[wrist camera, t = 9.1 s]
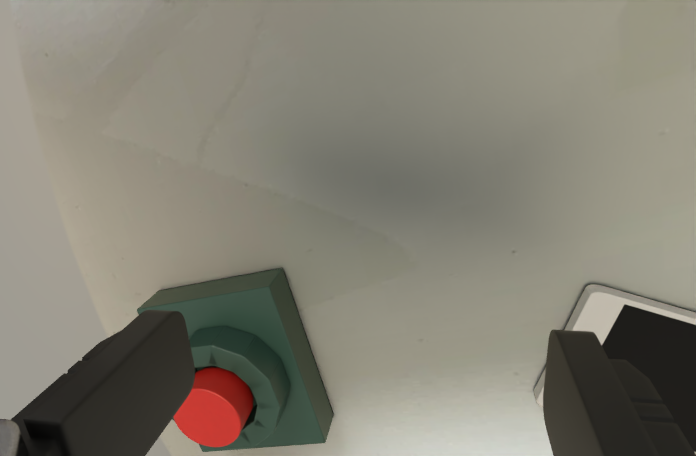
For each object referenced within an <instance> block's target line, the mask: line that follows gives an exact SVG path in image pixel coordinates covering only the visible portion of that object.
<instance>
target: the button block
mask: <svg viewBox="0 0 696 456" xmlns="http://www.w3.org/2000/svg"><path fill="white" fill-rule="evenodd" d="M146 310H165V311H179V312H180V313H182V315H183V316H184V319H185V322H186V327H187V332H188V337H189V341H190V346H191V351H192V356H193V360H194V365H195V373H196V372H197V371H199V370H201V369H204V368H208V367H219V368H223V369H226V370H228V371H231V372H233V373H235V374H236V375H237V376H238V377H239V378H241V379H242V380H243V381H244V382H245V383H246V384H247V385H248V387H249V388H250V390H251V392H252V395H253V409H252V411H251V413H250V415H249V417H248V419H247V421H246V423H245V425H244V427H243V429H242V430H241V432H240V434H239V436H238V438H237V439H236V440H235V441H234V442H232V443H231V444H229V445H227V446H223V447H209V446H204V445H201V444H199V445H200V447H201V449H202V451H203V452H208V451H222V450H235V449H249V448H263V447H276V446H290V445H304V444H317V443H325V442H326V439H327V435H328V432H329V429H330V425H331V422H332V419H333V413H332V410H331V407H330V404H329V401H328V398H327V395H326V392H325V390H324V387H323V384H322V381H321V378H320V375H319V372H318V369H317V366H316V364H315V361H314V358H313V355H312V352H311V349H310V346H309V343H308V341H307V338H306V335H305V332H304V329H303V326H302V323H301V320H300V317H299V315H298V312H297V309H296V306H295V303H294V300H293V297H292V294H291V291H290V289H289V286H288V283H287V280H286V277H285V274H284V271H283V269H282V268H281V269H275V270H270V271H264V272H259V273H253V274H248V275H243V276H237V277H232V278H226V279H221V280H215V281H210V282H204V283H199V284H193V285H188V286H183V287H177V288H172V289H166V290H161V291H158V292H157V293H156V294H154V295H153V296H152V297H151V298H150V299H149V300H147V301H146V302H145V303H144V304H143V305H142V306H141V307H139V308H138V309H137V311H138V314H139V315H140V314H141V313H142V312H144V311H146ZM172 419H173V420H174V417H173V418H172ZM174 421H175V420H174Z"/></svg>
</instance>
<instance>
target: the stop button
mask: <svg viewBox="0 0 696 456" xmlns="http://www.w3.org/2000/svg"><path fill="white" fill-rule="evenodd" d="M252 409H253V395H252V392H251V390H250V388H249V387H248V385H247V384H246V383H245V382H244V381H243V380H242V379H241V378H239V377H238V376H237V375H236V374H235V373H233V372H231V371H228V370H226V369H223V368H219V367H208V368H204V369H201V370H199V371H197V372H196V373H195V380H194V384H193V387H192V390H191V392H190V394H189V396H188V397H187V399H186V400H185V401H184V403H183V404H182V405H181V407H180V408H179V410H178V411H177V412H176V414H175V415H174V420H175V422H176V424H177V426H178V427H179V429H180V430H181V431H182V432H183V433H184V434H185V435H186V436H187V437H188V438H190V439H191V440H193V441H195V442H197V443H199V444H201V445H204V446H209V447H223V446H227V445H229V444H231V443H232V442H234V441H235V440H236V439H237V438H238V436H239V434H240V432H241V430H242V429H243V427H244V425H245V423H246V421H247V419H248V417H249V415H250V413H251V411H252Z"/></svg>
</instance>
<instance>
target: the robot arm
mask: <svg viewBox="0 0 696 456" xmlns="http://www.w3.org/2000/svg"><path fill="white" fill-rule="evenodd" d="M82 358H83V359H82V361H78V362H77V363H76V364H75V365H73V366H72V367H71V368H70V369H69V370H68V373H67V374H63V375H62V376H61V377H59V378H58V379H57V380H56V381H55V382H54V383H53V384H51V385H50V386H49V387H48V388H47V389H46V390H44V391H43V392H42V393H41V394H40V395H39V396H38V397H36V398H35V399H34V400H33V401H32V402H31V403H30V404H28V405H27V406H26V407H25V408H24V409H23V410H21V411H20V412H19V413H18V414H17V415H16V416H15V417H13V418H12V419H11V420H6V419H0V456H145V455H146V454H147V452H148V451H149V450H150V448H151V447H152V445H153V444H154V443H155V441H156V440H157V439H158V437H159V436H160V434H161V433H162V432H163V430H164V429H165V428H166V426H167V425H168V423H169V422H170V421H171V419H172V418H173V417H174V415H175V414H176V412H177V411H178V410H179V408H180V407H181V405H182V404H183V403H184V401H185V400H186V399H187V397H188V396H189V394H190V392H191V390H192V387H193V384H194V380H195V365H194V360H193V356H192V351H191V346H190V341H189V337H188V332H187V327H186V322H185V319H184V316H183V315H182V313H180V312H179V311H165V310H146V311H144V312H142V313H141V314H140V315H139V316H138V317H136V318H135V319H134V320H133V321H132V322H131V323H130V324H129V325H127V326H126V327H125V328H124V329H123V330H122V331H120V332H118V333H116V334H114V335H113V336H111V337H109V338H107V339H105V340H103V341H102V342H100V343H99V344H97V345H96V346H95V347H94V348H93V349H92V350H91V351H89V352H88V353H87V354H86V355H85V356H84V357H82ZM543 410H544V419H545V425H546V429H547V433H548V436H549V440H550V444H551V448H552V451H553V455H554V456H696V454H695V452H694V450H693V449H692V447H691V446H690V444H689V442H688V441H687V439H686V437H685V436H684V434H683V433H682V431H681V429H680V428H679V426H678V424H677V423H674V418H673V416H672V415H671V413H670V412H669V410H668V408H667V407H666V405H665V404H663V403H662V399H661V397H660V395H659V394H658V392H657V391H656V389H655V387H654V386H653V384H652V382H651V381H650V379H649V378H648V377H647V376H645V375H644V374H643V373H642V372H640V371H639V370H638V369H637V368H635V367H634V366H633V365H632V364H630V363H629V362H628V361H627V360H622V359H609V358H608V357H607V355H606V353H605V351H604V349H603V347H602V345H601V343H600V341H599V340H598V338H597V336H596V334H595V333H594V332H590V331H569V330H552V331H551V333H550V336H549V343H548V353H547V362H546V372H545V382H544V391H543Z"/></svg>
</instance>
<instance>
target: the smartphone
mask: <svg viewBox="0 0 696 456" xmlns="http://www.w3.org/2000/svg"><path fill="white" fill-rule="evenodd" d="M564 330H569V331H590V332H594V333H595V334H596V336H597V338H598V340H599V341H600V343H601V345H602V347H603V349H604V351H605V353H606V355H607V357H608V358H609V359H622V360H627V361H628V362H629V363H630V364H632V365H633V366H634V367H635V368H637V369H638V370H639V371H640V372H642V373H643V374H644V375H645V376H647V377H648V378H649V379H650V381H651V382H652V384H653V386H654V387H655V389H656V391H657V392H658V394H659V395H660V397H661V399H662V403H663V404H665V405H666V407H667V408H668V410H669V412H670V413H671V415H672V416H673V418H674V423H677V424H678V426H679V428H680V429H681V431H682V433H683V434H684V436H685V437H686V439H687V441H688V442H689V444H690V446H691V447H692V449H693V450H694V452H695V454H696V313H695V312H692V311H688V310H685V309H681V308H678V307H675V306H671V305H668V304H664V303H661V302H657V301H654V300H650V299H647V298H643V297H640V296H636V295H633V294H630V293H626V292H623V291H619V290H616V289H612V288H609V287H605V286H601V285H588V286H586V287H585V289H584V291H583V293H582V295H581V297H580V299H579V301H578V303H577V305H576V307H575V309H574V311H573V313H572V315H571V317H570V319H569V321H568V323H567V325H566V327H565V329H564ZM545 372H546V367H545V369H544V371H543V373H542V375H541V377H540V379H539V381H538V383H537V385H536V387H535V389H534V395H535V398H536V402H537V404H538V405H540V406H541V407H543V391H544V382H545Z"/></svg>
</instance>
